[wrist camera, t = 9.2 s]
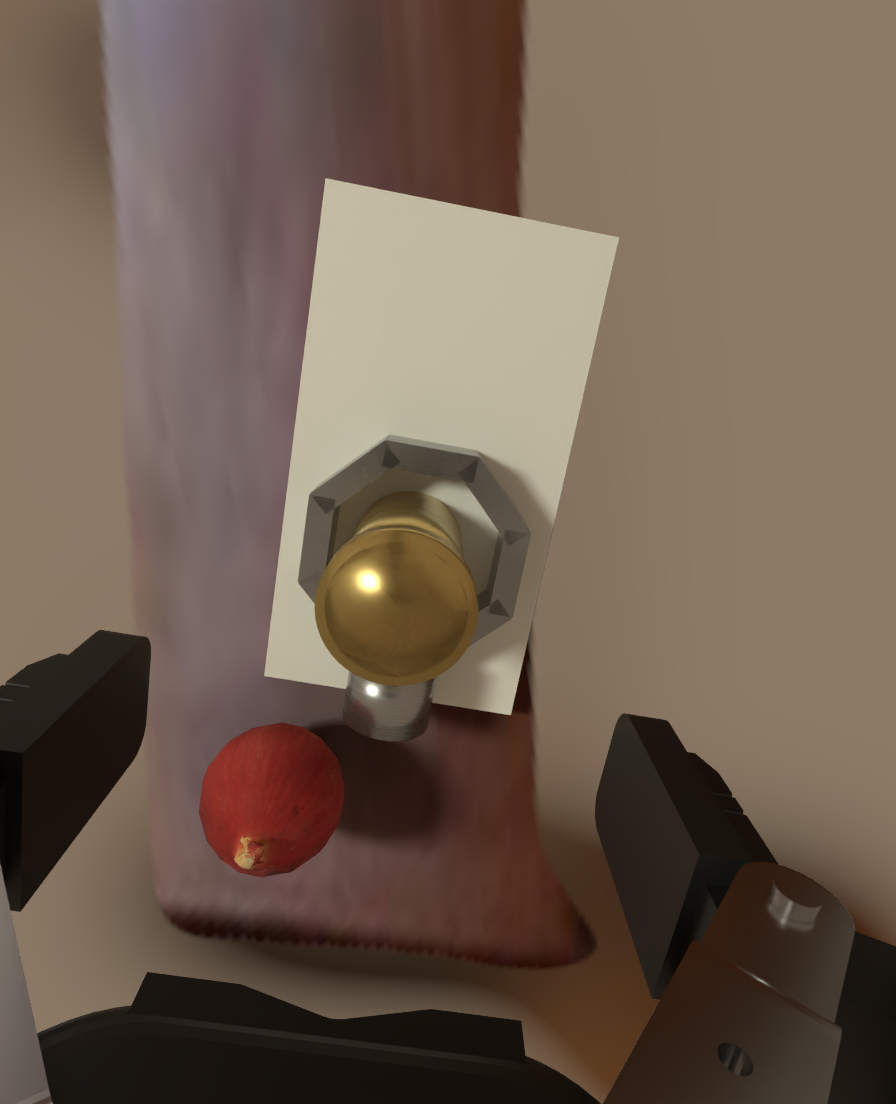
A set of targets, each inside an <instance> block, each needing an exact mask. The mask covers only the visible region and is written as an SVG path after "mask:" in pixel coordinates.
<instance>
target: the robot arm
mask: <svg viewBox="0 0 896 1104" xmlns="http://www.w3.org/2000/svg"><path fill="white" fill-rule="evenodd" d="M150 660H151V645H150V641H149V639H148V638H147V637H142V636H136V635H129V634H123V633H117V632H111V631H104V630H99V631H97V632H96V633H95V634H93V635H92V636H91V637H90V638H89V639H87V640H86V641H85V642H84V643H82V644H81V645H80V646H79V647H78V648H76V649H75V650H74V651H73V652H72V653H70V654H69V655H65V654H56V655H54V656H51V657H49V658H46V659H43V660H41V661H38V662H36V663H33V664H30V665H27V666H26V667H25V668H24V669H22V670H21V671H20V672H18V673H17V674H16V675H14V676H13V677H12V678H11V679H9V680H8V681H7V682H6V685H1V686H0V1104H600V1102H598V1101H597V1100H596V1099H595V1098H594V1097H592V1096H591V1095H590V1094H589V1093H587V1092H586V1091H585V1090H584V1089H582V1088H581V1087H580V1086H579V1085H577V1084H576V1083H575V1082H573V1081H572V1080H570V1079H569V1078H567V1077H566V1076H564V1075H563V1074H561V1073H560V1072H558V1071H556V1070H554V1069H552V1068H550V1067H548V1066H547V1065H544V1064H543V1063H541V1062H539V1061H537V1060H534V1059H532V1058H529V1057H527V1056H525V1049H524V1040H523V1032H522V1024H521V1021H519V1020H510V1019H503V1018H496V1017H488V1016H480V1015H472V1014H465V1013H457V1012H449V1011H442V1010H434V1009H429V1010H420V1011H411V1012H402V1013H394V1014H386V1015H377V1016H368V1017H359V1018H350V1019H330V1018H327V1017H323V1016H321V1015H318V1014H315V1013H313V1012H310V1011H308V1010H305V1009H303V1008H300V1007H298V1006H295V1005H292V1004H290V1003H287V1002H285V1001H282V1000H280V999H277V998H275V997H272V996H270V995H267V994H264V993H262V992H259V991H257V990H254V989H252V988H249V987H247V986H244V985H241V984H233V983H227V982H219V981H211V980H203V979H196V978H188V977H179V976H173V975H165V974H157V973H149V972H147V974H146V976H145V978H144V980H143V982H142V984H141V986H140V989H139V991H138V993H137V995H136V997H135V999H134V1001H133V1003H132V1006H124V1007H117V1008H112V1009H107V1010H103V1011H98V1012H93V1013H90V1014H87V1015H84V1016H80V1017H77V1018H74V1019H71V1020H68V1021H65V1022H63V1023H61V1024H58V1025H56V1026H53V1027H51V1028H49V1029H46V1030H44V1031H41V1032H39V1033H37V1031H36V1027H35V1022H34V1017H33V1013H32V1008H31V1003H30V999H29V994H28V990H27V985H26V980H25V976H24V971H23V967H22V962H21V957H20V953H19V948H18V943H17V939H16V934H15V929H14V925H13V920H12V916H11V911H10V910H12V911H21V910H22V909H23V908H24V906H25V905H26V903H27V902H28V901H29V899H30V898H31V897H32V896H33V894H34V893H35V891H36V890H37V889H38V888H39V886H40V885H41V884H42V882H43V881H44V879H45V878H46V877H47V875H48V874H49V873H50V871H51V870H52V869H53V867H54V866H55V865H56V863H57V862H58V861H59V859H60V858H61V857H62V855H63V854H64V853H65V851H66V850H67V849H68V847H69V846H70V845H71V843H72V842H73V841H74V839H75V838H76V837H77V835H78V834H79V833H80V831H81V830H82V829H83V827H84V826H85V824H86V823H87V822H88V820H89V819H90V818H91V816H92V815H93V814H94V813H95V811H96V810H97V808H98V807H99V806H100V804H101V803H102V802H103V800H104V799H105V798H106V796H107V795H108V794H109V792H110V791H111V790H112V788H113V787H114V786H115V784H116V783H117V782H118V780H119V779H120V778H121V776H122V775H123V774H124V772H125V771H126V770H127V768H128V767H129V766H130V764H131V763H132V762H133V760H134V758H135V757H136V755H137V753H138V751H139V748H140V746H141V743H142V740H143V736H144V732H145V727H146V719H147V704H148V689H149V674H150ZM595 820H596V827H597V831H598V835H599V837H600V841H601V844H602V847H603V850H604V853H605V856H606V859H607V862H608V865H609V868H610V871H611V874H612V878H613V881H614V883H615V887H616V890H617V893H618V896H619V899H620V902H621V905H622V908H623V911H624V914H625V917H626V921H627V923H628V926H629V930H630V933H631V936H632V939H633V942H634V945H635V948H636V951H637V954H638V957H639V960H640V964H641V967H642V970H643V972H644V976H645V979H646V982H647V985H648V988H649V991H650V994H651V997H652V999H659V1000H660V1001H659V1002H658V1004H657V1006H656V1008H655V1010H654V1012H653V1013H652V1015H651V1017H650V1019H649V1021H648V1023H647V1024H646V1026H645V1028H644V1030H643V1032H642V1034H641V1035H640V1037H639V1039H638V1041H637V1043H636V1044H635V1046H634V1048H633V1050H632V1052H631V1053H630V1055H629V1057H628V1059H627V1061H626V1062H625V1064H624V1066H623V1068H622V1070H621V1072H620V1073H619V1075H618V1077H617V1079H616V1081H615V1083H614V1084H613V1086H612V1088H611V1090H610V1092H609V1093H608V1095H607V1097H606V1099H605V1101H604V1103H603V1104H896V946H893V945H890V944H888V943H885V942H882V941H880V940H877V939H874V938H872V937H868V936H866V935H863V934H861V933H859V932H856V931H855V927H854V922H853V920H852V917H851V915H850V914H849V912H848V911H847V909H846V908H845V906H844V905H843V904H842V903H841V902H840V901H839V899H838V898H836V897H835V896H834V895H833V894H832V893H831V892H830V891H829V890H827V889H826V888H825V887H824V886H822V885H821V884H819V883H818V882H816V881H815V880H813V879H812V878H810V877H808V876H806V875H804V874H802V873H800V872H798V871H796V870H793V869H791V868H788V867H786V866H782V865H779V864H778V863H777V862H776V860H775V858H774V857H773V855H772V854H771V852H770V851H769V849H768V848H767V846H766V844H765V843H764V841H763V840H762V838H761V837H760V835H759V834H758V832H757V831H756V829H755V828H754V826H753V825H752V823H751V822H750V820H749V819H748V817H747V816H746V815H743V809H742V808H741V807H740V805H739V804H738V802H737V800H736V799H735V798H732V793H731V791H730V790H729V788H728V787H727V785H726V784H725V782H724V780H723V779H722V777H721V776H720V774H719V773H718V772H717V771H716V770H714V769H713V768H712V767H711V766H710V765H708V764H707V763H706V762H705V761H704V760H702V759H701V758H700V757H699V756H698V755H696V754H695V753H689V752H687V751H686V749H685V748H684V746H683V745H682V743H681V741H680V740H679V738H678V736H677V735H676V733H675V731H674V730H673V728H672V726H671V725H670V723H669V722H668V721H666V720H662V719H656V718H649V717H642V716H636V715H630V714H622V715H621V716H620V718H619V719H618V721H617V723H616V726H615V729H614V733H613V736H612V740H611V744H610V747H609V751H608V755H607V758H606V762H605V765H604V769H603V773H602V776H601V780H600V784H599V788H598V792H597V796H596V806H595Z"/></svg>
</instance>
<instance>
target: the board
mask: <svg viewBox="0 0 896 1104" xmlns="http://www.w3.org/2000/svg"><path fill="white" fill-rule="evenodd" d="M618 240H619V238H618V237H613V236H609V235H603V234H599V233H594V232H589V231H584V230H579V229H574V228H569V227H564V226H559V225H554V224H549V223H544V222H539V221H534V220H529V219H525V218H520V217H515V216H510V215H505V214H500V213H495V212H490V211H485V210H480V209H475V208H470V207H465V206H460V205H455V204H450V203H445V202H440V201H435V200H430V199H425V198H420V197H415V196H410V195H406V194H401V193H396V192H391V191H386V190H381V189H376V188H371V187H366V186H361V185H356V184H351V183H346V182H341V181H336V180H331V179H326V180H325V188H324V196H323V204H322V212H321V220H320V228H319V236H318V244H317V252H316V261H315V269H314V277H313V285H312V293H311V301H310V309H309V317H308V325H307V334H306V342H305V350H304V358H303V366H302V374H301V382H300V390H299V398H298V407H297V415H296V423H295V431H294V439H293V447H292V455H291V463H290V471H289V480H288V488H287V496H286V504H285V512H284V520H283V528H282V536H281V544H280V553H279V561H278V569H277V577H276V585H275V593H274V601H273V609H272V617H271V626H270V634H269V642H268V650H267V658H266V666H265V674H264V676H268V677H274V678H281V679H287V680H293V681H300V682H306V683H312V684H318V685H325V686H331V687H337V688H343V689H346V686H347V680H348V673H349V671H348V670H347V669H346V668H344V667H343V666H342V665H341V664H340V663H338V662H337V660H336V659H335V658H334V657H333V656H332V655H331V654H330V652H329V651H328V649H327V648H326V646H325V645H324V643H323V641H322V639H321V637H320V634H319V631H318V628H317V624H316V619H315V609H314V607H315V604H314V603H313V601H312V600H311V599H310V598H309V596H308V595H307V594H306V592H305V591H304V590H303V589H302V587H301V586H300V585H299V584H298V575H299V567H300V560H301V552H302V545H303V537H304V529H305V522H306V514H307V507H308V499H309V494H310V493H311V492H312V491H313V490H314V489H315V488H316V487H317V486H318V485H319V484H320V483H321V482H323V481H324V480H326V479H327V478H328V477H330V476H331V475H333V474H334V473H335V472H337V471H338V470H340V469H341V468H342V467H344V466H345V465H347V464H348V463H349V462H351V461H352V460H354V459H355V458H357V457H358V456H359V455H361V454H362V453H364V452H365V451H366V450H368V449H369V448H371V447H372V446H373V445H375V444H376V443H378V442H379V441H380V440H382V439H383V438H385V437H386V436H388V435H396V436H401V437H407V438H412V439H418V440H423V441H429V442H434V443H440V444H445V445H451V446H456V447H462V448H467V449H473V450H476V451H478V453H479V454H480V456H481V457H482V458H483V460H484V461H485V463H486V464H487V466H488V467H489V469H490V470H491V472H492V473H493V475H494V476H495V478H496V479H497V481H498V482H499V483H500V485H501V486H502V488H503V489H504V491H505V492H506V494H507V495H508V497H509V498H510V500H511V501H512V503H513V504H514V506H515V507H516V508H517V510H518V511H519V513H520V514H521V516H522V517H523V519H524V520H525V522H526V524H527V526H528V528H529V530H530V531H531V537H530V541H529V546H528V550H527V555H526V560H525V564H524V569H523V573H522V578H521V582H520V587H519V591H518V596H517V601H516V605H515V610H514V614H513V618H512V619H511V620H509V621H508V622H506V623H505V624H503V625H502V626H500V627H498V628H497V629H495V630H494V631H492V632H491V633H489V634H488V635H486V636H485V637H483V638H481V639H480V640H478V641H477V642H475V643H474V644H472V645H471V646H469V647H468V648H467V650H466V651H465V653H464V654H463V655H462V657H461V658H460V659H459V660H458V661H457V662H456V663H455V664H454V665H453V666H452V667H451V668H449V669H448V670H447V671H445V672H444V673H442V674H440V675H439V676H437V681H436V686H435V691H434V696H433V701H432V703H438V704H444V705H450V706H456V707H463V708H469V709H475V710H482V711H488V712H494V713H500V714H507V715H511V712H512V707H513V703H514V699H515V694H516V690H517V685H518V681H519V677H520V672H521V668H522V663H523V659H524V655H525V650H526V646H527V641H528V637H529V632H530V628H531V624H532V619H533V615H534V610H535V606H536V602H537V597H538V593H539V588H540V584H541V579H542V575H543V570H544V566H545V562H546V557H547V553H548V549H549V544H550V540H551V535H552V531H553V526H554V522H555V518H556V513H557V509H558V505H559V500H560V496H561V491H562V487H563V483H564V478H565V474H566V469H567V465H568V461H569V456H570V451H571V447H572V442H573V439H574V434H575V430H576V425H577V420H578V416H579V412H580V408H581V403H582V399H583V394H584V390H585V385H586V381H587V377H588V372H589V367H590V364H591V359H592V355H593V350H594V346H595V342H596V337H597V332H598V328H599V324H600V319H601V315H602V311H603V306H604V302H605V297H606V293H607V289H608V284H609V280H610V275H611V271H612V267H613V262H614V258H615V253H616V249H617V245H618ZM401 491H415V492H421V493H425V494H427V495H430V496H432V497H434V498H436V499H438V500H439V501H440V502H442V503H443V504H444V505H445V506H446V507H447V508H448V509H449V510H450V511H451V512H452V514H453V515H454V517H455V519H456V520H457V523H458V525H459V528H460V531H461V537H462V547H463V557H464V560H465V561H466V563H467V565H468V566H469V569H470V571H471V573H472V575H473V579H474V582H475V587H476V594H477V595H478V594H479V593H481V592H482V591H484V590H486V589H487V585H488V580H489V575H490V571H491V566H492V561H493V556H494V551H495V546H496V541H497V537H498V532H499V531H498V530H497V528H496V527H495V525H494V524H493V522H492V521H491V520H490V518H489V517H488V515H487V514H486V512H485V511H484V509H483V508H482V507H481V505H480V504H479V502H478V501H477V499H476V498H475V496H474V495H473V494H472V492H471V491H470V489H469V488H468V486H467V485H466V483H465V482H464V481H461V480H455V479H450V478H444V477H438V476H433V475H427V474H422V473H416V472H410V471H405V470H399V469H394V468H392V469H390V470H389V471H388V472H386V473H385V474H383V475H382V476H380V477H379V478H378V479H376V480H375V481H373V482H372V483H370V484H369V485H368V486H366V487H365V488H363V489H362V490H360V491H359V492H358V493H356V494H355V495H353V496H352V497H350V498H349V499H348V500H346V501H345V502H343V503H342V504H340V510H339V517H338V524H337V531H336V537H335V544H334V551H333V556H334V555H335V553H336V552H337V551H338V550H339V549H340V548H341V547H342V546H343V545H344V544H345V543H346V542H347V541H349V540H350V539H351V538H352V537H353V535H354V533H355V531H356V529H357V527H358V525H359V523H360V521H361V519H362V517H363V515H364V514H365V512H366V511H367V510H368V509H369V507H370V506H371V505H372V504H374V503H375V502H376V501H377V500H379V499H381V498H382V497H384V496H387V495H389V494H392V493H395V492H401Z"/></svg>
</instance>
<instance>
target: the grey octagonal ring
mask: <svg viewBox="0 0 896 1104" xmlns="http://www.w3.org/2000/svg"><path fill="white" fill-rule="evenodd" d="M392 468H394V469H399V470H405V471H410V472H416V473H422V474H427V475H433V476H438V477H444V478H450V479H455V480H461V481H464V482H465V483H466V485H467V486H468V488H469V489H470V491H471V492H472V494H473V495H474V496H475V498H476V499H477V501H478V502H479V504H480V505H481V507H482V508H483V509H484V511H485V512H486V514H487V515H488V517H489V518H490V520H491V521H492V522H493V524H494V525H495V527H496V528H497V530H498V531H499V532H498V537H497V541H496V546H495V551H494V556H493V561H492V566H491V571H490V575H489V580H488V585H487V589H486V590H484V591H482V592H481V593H479V594H478V595H477V601H478V620H477V626H476V630H475V633H474V636H473V638H472V641H471V643H470V645H469V646H471V645H472V644H474V643H475V642H477V641H478V640H480V639H481V638H483V637H485V636H486V635H488V634H489V633H491V632H492V631H494V630H495V629H497V628H498V627H500V626H502V625H503V624H505V623H506V622H508V621H509V620H511V619H512V618H513V614H514V610H515V605H516V601H517V596H518V591H519V587H520V582H521V578H522V573H523V569H524V564H525V560H526V555H527V550H528V546H529V541H530V537H531V531H530V530H529V528H528V526H527V524H526V522H525V520H524V519H523V517H522V516H521V514H520V513H519V511H518V510H517V508H516V507H515V506H514V504H513V503H512V501H511V500H510V498H509V497H508V495H507V494H506V492H505V491H504V489H503V488H502V486H501V485H500V483H499V482H498V481H497V479H496V478H495V476H494V475H493V473H492V472H491V470H490V469H489V467H488V466H487V464H486V463H485V461H484V460H483V458H482V457H481V456H480V454H479V453H478V451H476V450H473V449H467V448H462V447H456V446H451V445H445V444H440V443H434V442H429V441H423V440H418V439H412V438H407V437H401V436H396V435H388V436H386V437H385V438H383V439H382V440H380V441H379V442H378V443H376V444H375V445H373V446H372V447H371V448H369V449H368V450H366V451H365V452H364V453H362V454H361V455H359V456H358V457H357V458H355V459H354V460H352V461H351V462H349V463H348V464H347V465H345V466H344V467H342V468H341V469H340V470H338V471H337V472H335V473H334V474H333V475H331V476H330V477H328V478H327V479H326V480H324V481H323V482H321V483H320V484H319V485H318V486H317V487H316V488H315V489H314V490H313V491H312V492H311V493H310V494H309V499H308V507H307V514H306V522H305V529H304V537H303V545H302V552H301V560H300V567H299V575H298V584H299V585H300V586H301V587H302V589H303V590H304V591H305V592H306V594H307V595H308V596H309V598H310V599H311V600H312V601H313V603H314V604H315V596H316V591H317V587H318V585H319V582H320V579H321V577H322V575H323V573H324V571H325V569H326V568H327V566H328V564H329V562H330V560H331V559H332V557H333V551H334V544H335V537H336V531H337V524H338V517H339V510H340V504H342V503H343V502H345V501H346V500H348V499H349V498H350V497H352V496H353V495H355V494H356V493H358V492H359V491H360V490H362V489H363V488H365V487H366V486H368V485H369V484H370V483H372V482H373V481H375V480H376V479H378V478H379V477H380V476H382V475H383V474H385V473H386V472H388V471H389V470H390V469H392ZM469 646H468V647H469ZM436 681H437V677H435V678H433V679H430V680H428V681H425V682H422V683H418V684H414V685H406V686H390V685H382V684H378V683H373V682H371V681H368V680H365V679H363V678H361V677H359V676H356V675H355V674H353V673H351V672H350V671H349V673H348V680H347V686H346V692H345V699H344V705H343V712H342V716H343V719H344V721H345V723H346V724H347V725H348V726H349V727H350V728H351V729H353V730H354V731H356V732H358V733H360V734H362V735H364V736H367V737H370V738H373V739H378V740H383V741H406V740H411V739H414V738H416V737H419V736H420V735H422V734H423V733H424V732H425V731H426V729H427V727H428V722H429V717H430V712H431V707H432V701H433V696H434V691H435V686H436Z"/></svg>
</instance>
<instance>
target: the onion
mask: <svg viewBox="0 0 896 1104" xmlns="http://www.w3.org/2000/svg"><path fill="white" fill-rule="evenodd" d="M344 794H345V787H344V780H343V776H342V772H341V768H340V764H339V760H338V759H337V757H336V756H335V755H334V754H333V752H332V751H331V750H330V749H329V747H328V746H327V745H326V744H325V742H324V741H323V740H322V739H321V738H320V737H318V736H317V735H315V734H313V733H312V732H310V731H309V730H307V729H305V728H304V727H300V726H295V725H290V724H286V723H278V724H273V725H267V726H261V727H256V728H252V729H250V730H248V731H246V732H245V733H243V734H241V735H239V736H237V737H235V738H233V739H232V740H231V741H230V742H229V743H228V744H227V745H226V746H225V747H223V749H222V750H221V751H220V752H219V754H218V755H217V756H216V758H215V759H214V760H213V762H212V763H211V764H210V765H209V767H208V769H207V771H206V774H205V776H204V779H203V785H202V792H201V799H200V808H199V814H200V818H201V822H202V826H203V829H204V833H205V836H206V839H207V842H208V843H209V845H210V846H211V847H212V849H213V850H214V851H215V853H216V854H217V855H218V857H219V858H220V859H221V860H223V861H224V862H225V863H227V864H228V865H230V866H231V867H232V868H234V869H235V870H237V871H238V872H239V873H244V874H249V875H253V876H258V877H266V876H271V875H277V874H282V873H288V872H292V871H293V870H295V869H297V868H298V867H299V866H301V865H302V864H304V863H305V862H306V861H308V860H309V859H311V858H312V857H314V856H315V855H316V854H318V853H319V852H320V851H321V850H322V849H323V847H324V846H325V845H326V843H327V842H328V840H329V838H330V837H331V835H332V834H333V832H334V831H335V829H336V828H337V826H338V824H339V820H340V817H341V813H342V807H343V801H344Z"/></svg>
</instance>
